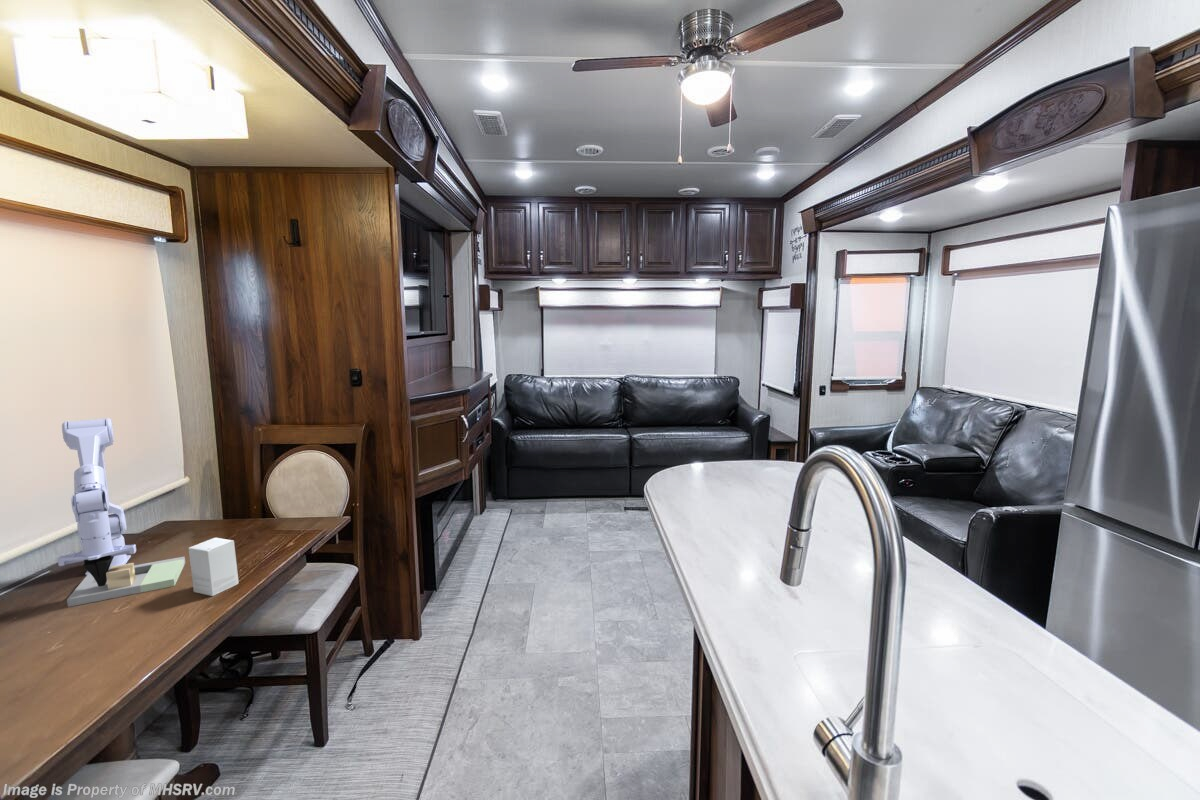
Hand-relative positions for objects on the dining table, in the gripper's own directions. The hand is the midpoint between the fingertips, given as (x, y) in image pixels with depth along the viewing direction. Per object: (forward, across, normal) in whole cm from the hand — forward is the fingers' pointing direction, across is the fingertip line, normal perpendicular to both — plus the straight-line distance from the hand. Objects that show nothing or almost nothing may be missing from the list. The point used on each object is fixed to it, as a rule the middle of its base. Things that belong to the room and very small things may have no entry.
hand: (102, 584), depth 135 cm
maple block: (+1, +4, 0) cm, 4 cm away
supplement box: (+3, +25, -10) cm, 27 cm away
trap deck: (+3, +5, +4) cm, 7 cm away
